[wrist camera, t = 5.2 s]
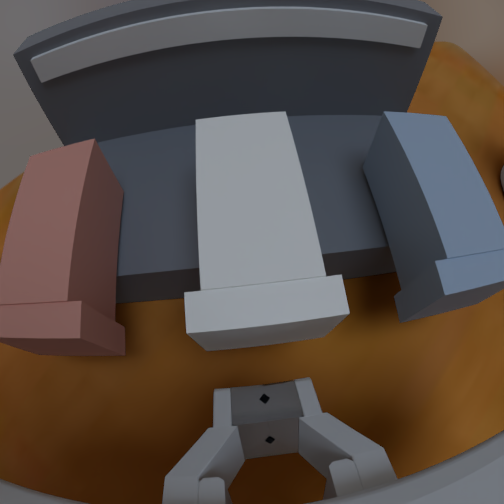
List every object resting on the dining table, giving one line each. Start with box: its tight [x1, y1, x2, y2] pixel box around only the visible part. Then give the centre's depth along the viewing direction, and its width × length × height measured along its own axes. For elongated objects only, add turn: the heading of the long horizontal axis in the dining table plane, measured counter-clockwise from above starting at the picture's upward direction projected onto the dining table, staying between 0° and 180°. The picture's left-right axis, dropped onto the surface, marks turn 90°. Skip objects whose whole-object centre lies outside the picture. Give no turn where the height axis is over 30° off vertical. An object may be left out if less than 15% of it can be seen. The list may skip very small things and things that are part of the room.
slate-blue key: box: [363, 111, 504, 323], centre depth 12 cm, size 8×5×4 cm, turn 6°
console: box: [14, 0, 442, 303], centre depth 15 cm, size 11×22×12 cm, turn 97°
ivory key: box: [184, 111, 350, 351], centre depth 12 cm, size 8×5×4 cm, turn 6°
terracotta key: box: [0, 138, 125, 356], centre depth 12 cm, size 8×5×4 cm, turn 6°
